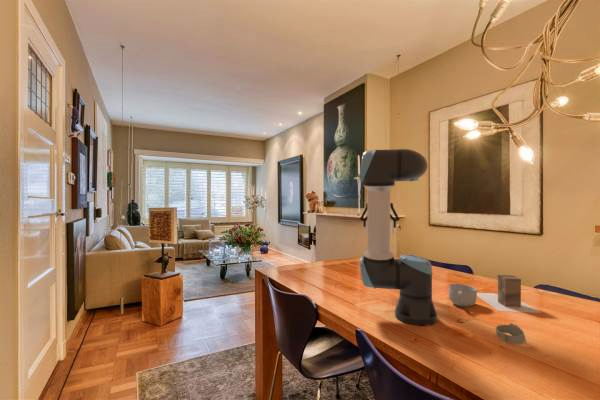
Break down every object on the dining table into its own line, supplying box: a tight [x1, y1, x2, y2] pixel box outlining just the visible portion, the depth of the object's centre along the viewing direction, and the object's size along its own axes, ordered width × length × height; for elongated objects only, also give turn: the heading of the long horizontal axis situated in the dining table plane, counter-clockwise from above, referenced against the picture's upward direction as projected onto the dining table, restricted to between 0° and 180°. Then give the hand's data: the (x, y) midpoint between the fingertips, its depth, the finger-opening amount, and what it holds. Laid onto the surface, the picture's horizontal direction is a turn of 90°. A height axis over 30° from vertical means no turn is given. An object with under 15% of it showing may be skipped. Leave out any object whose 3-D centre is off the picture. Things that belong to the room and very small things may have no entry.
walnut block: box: [497, 274, 522, 308], centre depth 129 cm, size 6×6×12 cm
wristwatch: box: [495, 323, 527, 344], centre depth 98 cm, size 9×6×5 cm
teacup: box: [448, 283, 478, 308], centre depth 129 cm, size 14×11×8 cm
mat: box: [477, 292, 542, 314], centre depth 133 cm, size 24×16×1 cm, turn 173°
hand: (379, 233), depth 161 cm, fingers open, 13 cm apart
